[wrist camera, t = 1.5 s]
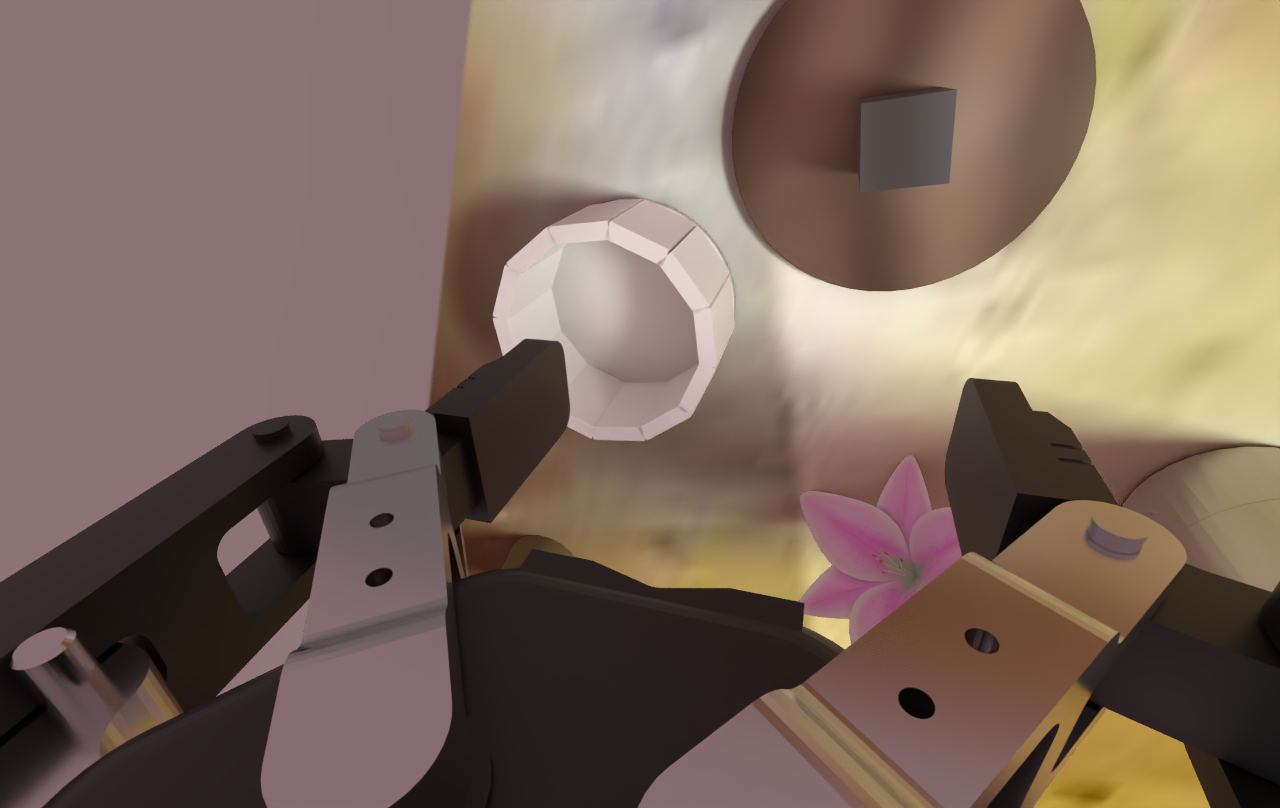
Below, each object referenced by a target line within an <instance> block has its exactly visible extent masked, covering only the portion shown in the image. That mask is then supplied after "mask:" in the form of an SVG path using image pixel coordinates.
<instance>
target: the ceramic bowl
mask: <svg viewBox="0 0 1280 808" xmlns="http://www.w3.org/2000/svg"><path fill="white" fill-rule="evenodd" d="M493 316H494V318H493V322H494V325H495V329H496V333H497V336H498V340H499V343H500V347H501V351H502V354H503V356H504V355H505V354H506V353H508V352H509V351H510V350H511V349H513V348H514V347H515V346H516V345H518V344H519V343H520V342H521V341H522V340H524V339H526V338H528V339H540V340H551V341H558V342H560V343H561V345H562V347H563V350H564V355H565V364H566V373H567V382H568V391H569V400H570V416H569V421H568V425H567V427H569V428H571V429H573V430H575V431H577V432H579V433H581V434H583V435H585V436H587V437H589V438H590V439H592V438H593V437H594V440H621V441H645V439H646V440H649V439H651V438H653V437H655V436H657V435H658V434H660V433H662V432H664V431H666V430H668V429H670V428H671V427H673V426H675V425H677V424H679V423H681V422H683V421H684V420H686V419H688V418H690V417H691V415H693V413H694V411H695V409H696V407H697V405H698V403H699V401H700V399H701V398H702V396H703V394H704V392H705V390H706V388H707V386H708V384H709V382H710V380H711V378H712V377H713V375H714V373H715V371H716V369H717V367H718V364H719V362H720V360H721V358H722V355H723V353H724V351H725V348H726V346H727V344H728V342H729V339H730V337H731V335H732V333H733V330H734V327H735V321H734V316H735V290H734V283H733V279H732V276H731V272H730V269H729V267H728V264H727V262H726V260H725V258H724V256H723V254H722V252H721V251H720V249H719V247H718V246H717V244H716V243H715V242H714V240H713V239H712V238H711V236H710V235H709V234H708V233H707V232H706V231H705V230H704V229H703V228H702V227H701V226H700V225H699V224H698V223H697V222H695V221H694V220H693V219H691V218H690V217H689V216H687V215H686V214H684V213H682V212H680V211H679V210H677V209H675V208H673V207H670V206H668V205H665V204H663V203H659V202H655V201H651V200H646V199H636V198H631V199H618V200H613V201H608V202H605V203H601V204H592V205H589V206H587V207H585V208H583V209H581V210H579V211H577V212H575V213H574V214H572V215H570V216H568V217H566V218H564V219H562V220H560V221H558V222H556V223H554V224H552V225H550V226H548V227H546V228H545V229H544V230H543V231H542V232H540V233H539V234H538V235H537V236H536V237H535V238H534V239H533V240H531V241H530V242H529V243H528V244H527V245H526V246H525V247H524V248H522V249H521V250H520V251H519V252H518V253H517V254H516V255H514V256H513V257H512V258H511V259H510V260H509V261H508V262H507V264H506V265H505V266H504V270H503V275H502V279H501V283H500V287H499V291H498V295H497V299H496V303H495V307H494V312H493Z"/></svg>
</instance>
